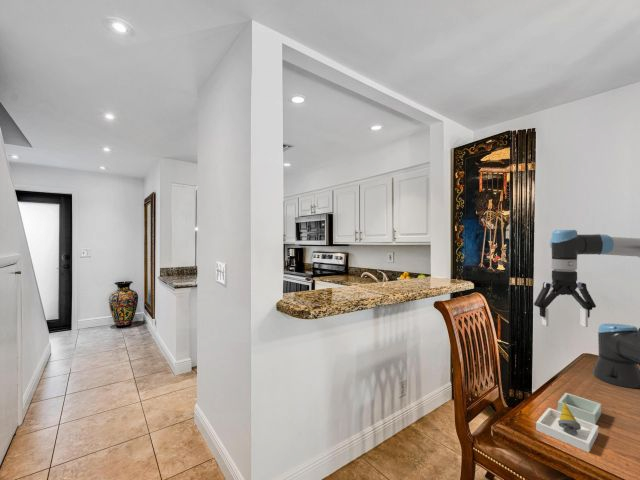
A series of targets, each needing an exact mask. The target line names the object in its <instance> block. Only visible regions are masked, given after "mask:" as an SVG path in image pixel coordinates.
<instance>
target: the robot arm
mask: <svg viewBox="0 0 640 480" xmlns="http://www.w3.org/2000/svg"><path fill="white" fill-rule="evenodd" d="M549 246H550V248H551V269H552V271H551V280H552V282H551V283H549V282H545V281H544V282H543V283H542V288H541V290H540V292H539V293H538V296H537V297H536V300H534V302H533V306H535V307H538V308H539V316H540V317H541V325H543V326H545V327H549V308H548V306H549V305H551V303H552V302H553V301H554V300H555V299H556V298H557V297H558V296H560V295H561V296H564V295H567V296H572V297H573V298H574V299H575V301H576V302H577V303H579V305H580V306H581V307H580V309H579V316H580V317H579V318H580V319H579V325H580V326H582V327H585V328H588V327H589V323H588V322H589V321H588V320H589V318H590V316H591V315H590V314H591V311H592V310H593V309H594V308H596V307H597V305H596V303H595V302H594V300H593V297H592V296H591V294H590V292H589V291H588V288H587V284H586V283H585V282H580V281H579V282H578V271H577V270H578V256H579V255H599V256H600V255H603V256H604V255H608V256H619V257H620V256H621V257H622V256H624V257H637V258H639V259H640V237H639V238H637V237H634V238H632V237H616V236H610V235H609V234H600V233H599V234H598V233H596V234H578V230H577V229H555V230H553V231H552V233H551V239H550V240H549ZM577 289H578V291H579V292H580V293H579V292H578V291H577ZM580 294H581V295H580ZM597 335H598V338H597V339H598V340H597V341H598V343H597V344H598V358H597V360H596V362H595V365H594V366H593V368H592V369H593V370H592V374H593V376H594V377H595V376H596V378H597V379H599V380H600V381H603V382H606V383H609V384H610V385H615V386H618V387H623V388H629V389H630V388H631V389H638V388H639V389H640V367H639V366H640V327H637V326H634V325H629V324H623V323H622V324H620V323H602V324H600V325H599V327H598V331H597Z"/></svg>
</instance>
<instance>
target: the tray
mask: <svg viewBox="0 0 640 480" xmlns="http://www.w3.org/2000/svg"><path fill="white" fill-rule="evenodd" d="M561 413H562V412H559V411H558V409H557V410H556V409H553V408H551V407H548V408H546V410H545V411H544V412H543V414H542V415H541V416H540V417H539V419H538V420H537V421H536V423H535V426H536V427H535V431H538V432H540V433H542V434H545V435H547V436H549V437H552V438H553V439H556V440H558V441H560V442H563V443H566V444H567V445H570V446H572V447H574V448H577V449H579V450H582V451H585V452H587V453H590V452H591V449H592V448H593V445H594V443H595V442H596V439H597V437H598V435H599V425H597V424H596V425H595V424H592V423H589V422H587V421H584V420H581V419H578V418H576V417H574V418H575V420H576V421H577V422H578V423H579V424H580V427H581V429H580V430H577V434H578V435H575V436H572V435H570V433H569V432H568V431H566V430H565V429H564V428H562V427H560V426H559V424H558V421H559V420H560V417H561V415H562V414H561Z"/></svg>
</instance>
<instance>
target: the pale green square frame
mask: <svg viewBox="0 0 640 480" xmlns="http://www.w3.org/2000/svg"><path fill="white" fill-rule="evenodd" d="M564 402H565V404H566V405H567V407H568V408H569V410H570V412H571V413H572V415H573V416H574V417H576V418H578V419H581V420H584V421H587V422H589V423H592V424H595V425H597V422H598V421H599V419H600V417H601V415H602V403H599V402H596V401H593V400H590V399H586V398H584V397H581V396H578V395H574V394H572V393H569V392H564V394H563V395H562V396H561V398H559V400H558V401H557V411H559V412H562V409H563V404H564Z"/></svg>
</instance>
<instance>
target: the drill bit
mask: <svg viewBox="0 0 640 480" xmlns="http://www.w3.org/2000/svg"><path fill="white" fill-rule="evenodd" d="M561 414H562V415H561V417H560V420H559V421H558V424H559V426H560V427H562V428H564V429H565V430H566V431H568V432H569V433H570V435H572V436H575V435H578V434H577V430H580V429H581V427H580V424H579V423H578V422H577V421H576V420H575V418H574V416H573V415H572V413H571V412H570V410H569V408H568V407H567V405H566V404H565V402H564V404H563V409H562V413H561Z"/></svg>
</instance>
